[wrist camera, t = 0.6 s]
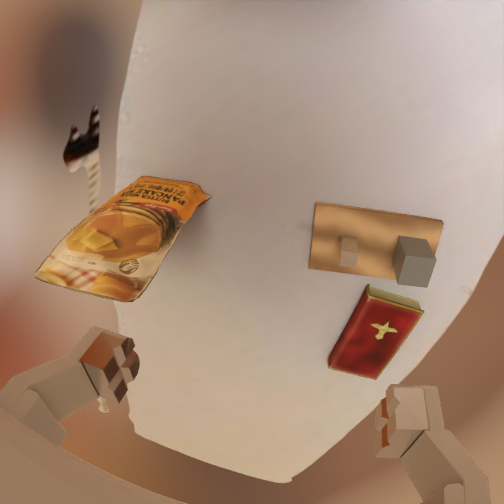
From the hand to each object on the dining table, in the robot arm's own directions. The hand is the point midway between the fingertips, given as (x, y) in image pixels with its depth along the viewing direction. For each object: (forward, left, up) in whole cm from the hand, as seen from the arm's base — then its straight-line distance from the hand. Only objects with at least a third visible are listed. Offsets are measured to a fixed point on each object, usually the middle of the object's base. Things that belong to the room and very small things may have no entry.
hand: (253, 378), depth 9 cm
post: (+17, +6, -42) cm, 46 cm away
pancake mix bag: (+12, -26, -44) cm, 52 cm away
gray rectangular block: (+17, +17, -42) cm, 49 cm away
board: (+17, +11, -44) cm, 48 cm away
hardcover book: (+37, +15, -44) cm, 60 cm away
